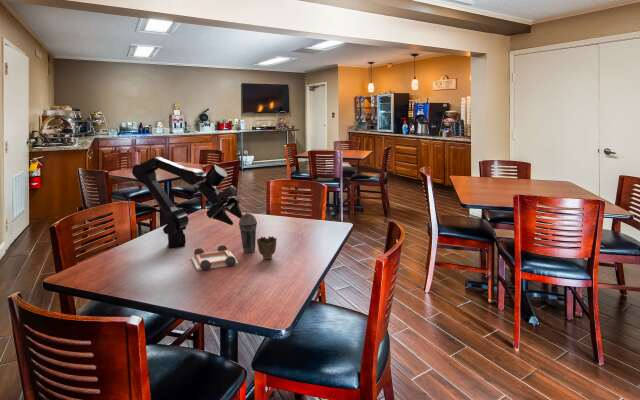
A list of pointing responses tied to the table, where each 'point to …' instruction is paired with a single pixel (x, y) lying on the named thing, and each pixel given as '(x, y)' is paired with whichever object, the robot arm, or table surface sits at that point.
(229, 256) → the chassis
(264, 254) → the cup
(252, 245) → the beverage cup
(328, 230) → the table surface
